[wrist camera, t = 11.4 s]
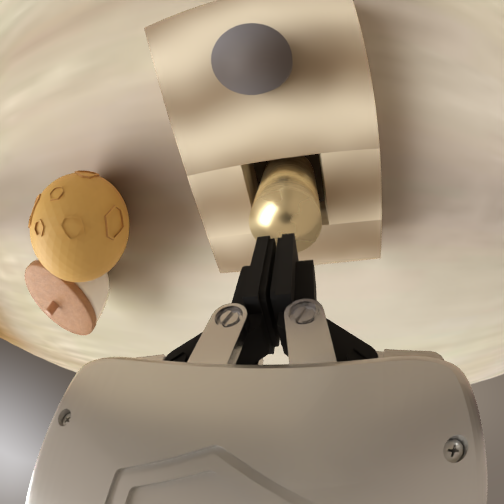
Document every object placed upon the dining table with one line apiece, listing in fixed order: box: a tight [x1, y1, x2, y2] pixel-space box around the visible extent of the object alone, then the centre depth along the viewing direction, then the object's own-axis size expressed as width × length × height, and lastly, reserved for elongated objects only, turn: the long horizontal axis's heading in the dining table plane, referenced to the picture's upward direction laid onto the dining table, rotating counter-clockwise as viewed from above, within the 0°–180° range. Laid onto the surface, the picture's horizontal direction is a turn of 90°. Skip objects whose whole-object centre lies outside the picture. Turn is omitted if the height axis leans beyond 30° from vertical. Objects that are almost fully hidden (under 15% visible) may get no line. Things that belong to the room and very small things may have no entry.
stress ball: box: [28, 171, 129, 282], centre depth 21 cm, size 10×10×10 cm
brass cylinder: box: [249, 156, 322, 252], centre depth 18 cm, size 4×4×8 cm
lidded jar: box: [25, 258, 109, 335], centre depth 27 cm, size 11×11×9 cm
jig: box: [144, 0, 382, 273], centre depth 17 cm, size 20×13×7 cm, turn 12°
